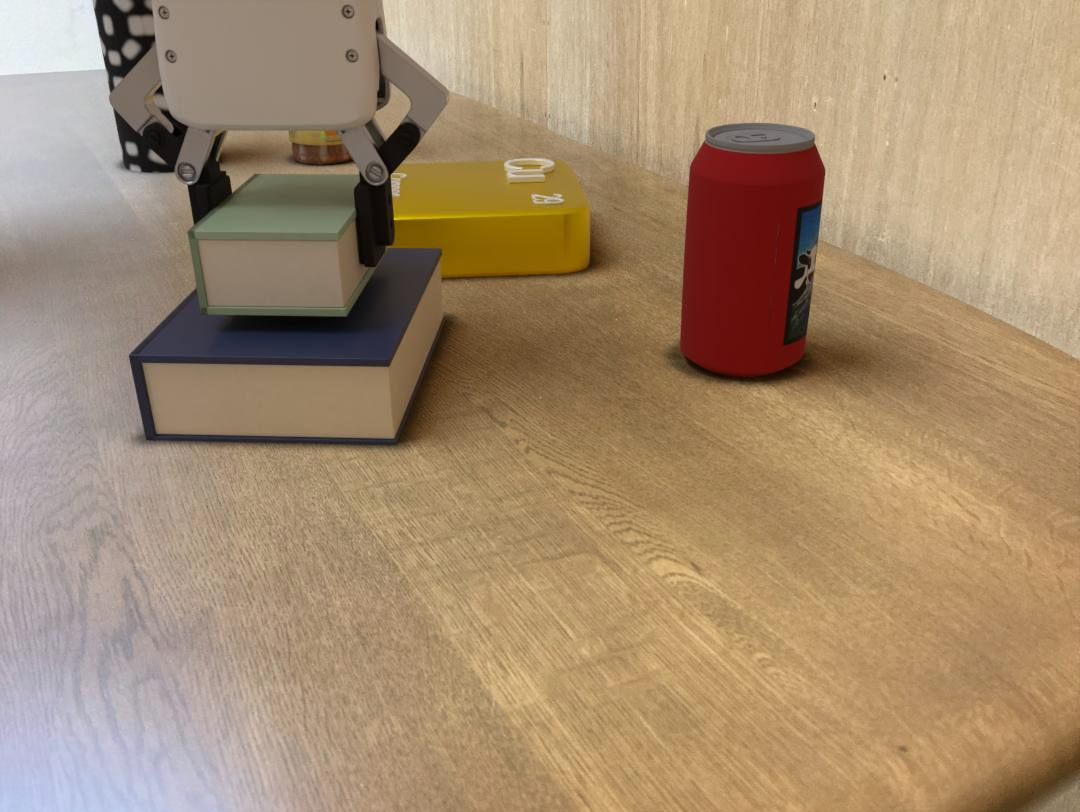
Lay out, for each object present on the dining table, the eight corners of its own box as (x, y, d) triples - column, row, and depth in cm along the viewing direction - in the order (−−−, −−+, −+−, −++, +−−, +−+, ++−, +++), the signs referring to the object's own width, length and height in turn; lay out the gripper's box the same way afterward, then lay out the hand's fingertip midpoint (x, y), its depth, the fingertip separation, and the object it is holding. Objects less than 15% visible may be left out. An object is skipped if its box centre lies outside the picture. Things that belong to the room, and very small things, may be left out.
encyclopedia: (146, 443, 54) (127, 354, 52) (248, 319, 69) (237, 246, 67) (396, 449, 54) (388, 358, 51) (446, 322, 68) (441, 248, 66)
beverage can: (826, 377, 60) (856, 142, 54) (708, 392, 59) (725, 152, 53) (768, 333, 66) (790, 116, 60) (659, 347, 64) (670, 124, 58)
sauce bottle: (340, 169, 102) (316, -83, 92) (279, 165, 104) (248, -83, 94) (373, 154, 107) (353, -87, 97) (313, 150, 109) (288, -87, 99)
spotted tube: (167, 179, 100) (121, -81, 90) (105, 167, 104) (54, -83, 93) (237, 160, 106) (202, -86, 95) (175, 150, 110) (135, -87, 99)
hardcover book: (264, 247, 63) (254, 173, 61) (388, 248, 63) (382, 174, 61) (201, 315, 54) (186, 231, 52) (346, 317, 54) (338, 232, 52)
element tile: (373, 221, 87) (368, 157, 85) (568, 215, 88) (568, 151, 86) (365, 284, 74) (359, 210, 72) (593, 275, 76) (594, 202, 73)
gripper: (461, -152, 52) (477, 239, 61) (87, -147, 53) (158, 236, 62) (438, -153, 45) (459, 284, 54) (12, -147, 46) (103, 280, 55)
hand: (298, 256), depth 58 cm, fingers closed on hardcover book, 7 cm apart
